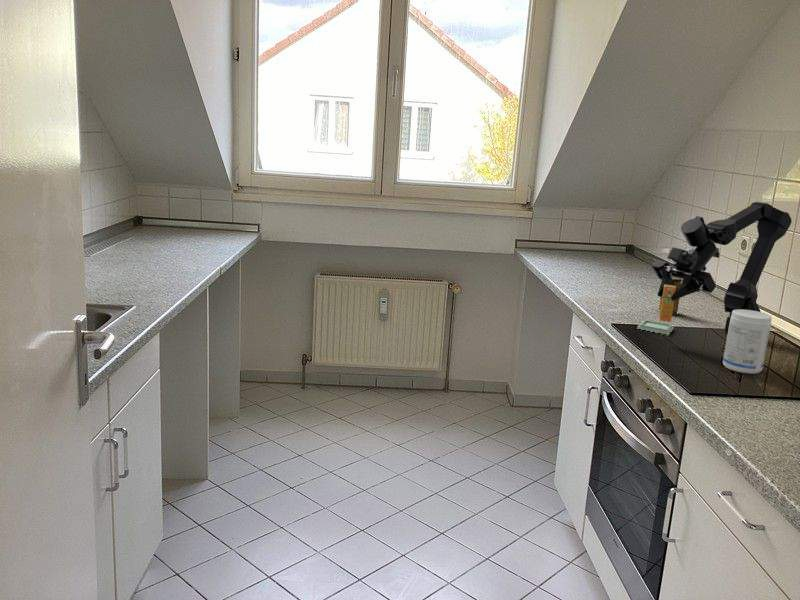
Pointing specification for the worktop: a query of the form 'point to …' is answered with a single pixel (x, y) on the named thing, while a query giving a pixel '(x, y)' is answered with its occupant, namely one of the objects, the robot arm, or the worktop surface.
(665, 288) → the supplement box
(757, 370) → the supplement tub
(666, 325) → the plate
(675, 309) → the condiment
